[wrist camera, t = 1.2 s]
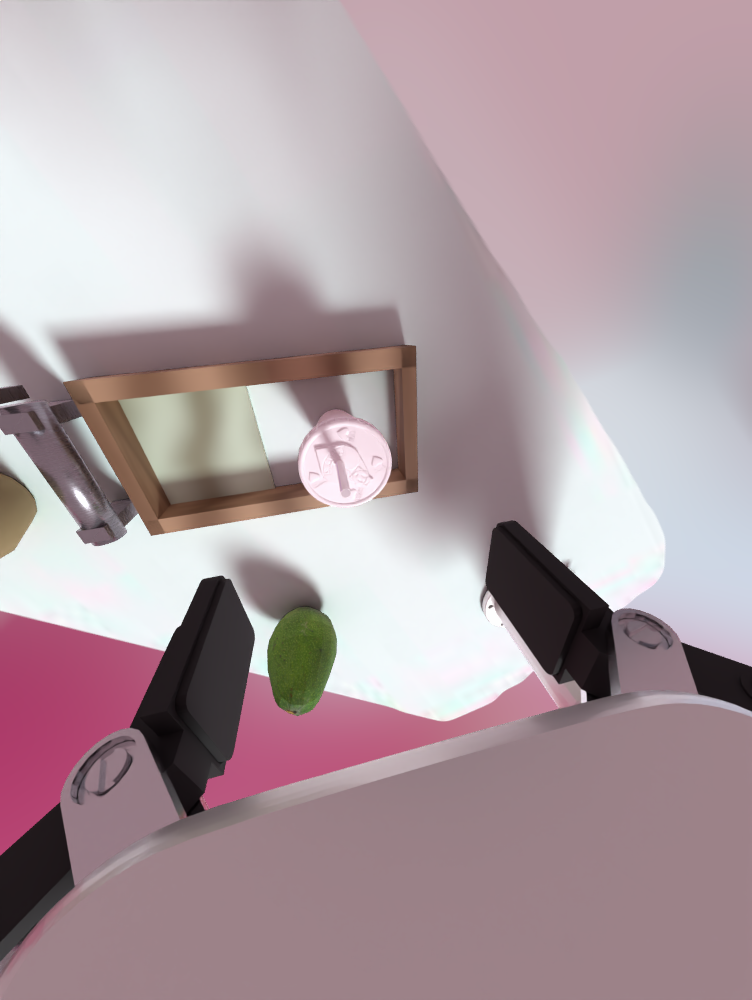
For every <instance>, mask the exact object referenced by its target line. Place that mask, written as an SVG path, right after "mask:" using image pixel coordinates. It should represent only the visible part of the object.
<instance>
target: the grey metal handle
mask: <svg viewBox="0 0 752 1000" xmlns="http://www.w3.org/2000/svg"><path fill="white" fill-rule="evenodd" d="M27 398H30V397H29V395H28V394H27V392H26V391H25V389H24V388H23V386H22V385H19V386H9V387H3V388H0V404H3V403H8V402H12V401H17V400H22V399H27ZM79 417H82V415H81V413H80V412H79V410H78V408H77V406H76V405H75V403H74V401H73V399H72V400H62V401H53V402H49V403H47V401H46V400H40V401H31V402H24V403H17V404H11V405H6V406H1V407H0V429H1V430H2V431H3V433H4V434H5V435H8V434H14V436H15V437H16V439H17V440H18V441H19V443H20V444H21V446H22V447H23V448H24V450H25V451H26V453H27V454H28V455H29V457H30V458H31V460H32V461H33V462H34V464H35V465H36V467H37V468H38V469H39V471H40V472H41V474H42V475H43V476H44V478H45V479H46V481H47V482H48V483H49V485H50V486H51V488H52V489H53V490H54V492H55V493H56V495H57V496H58V497H59V499H60V500H61V501H62V503H63V504H64V506H65V507H66V508H67V510H68V511H69V513H70V514H71V515H72V517H73V518H74V520H75V521H76V522H77V524H78V525H79V527H80V529H79V530H77V531H76V533H77V534H78V535H79V537H80V538H81V539H82V541H83V542H84V543H85V544H87V543H92V545H94V546H101V545H105V544H109V543H111V542H114V541H116V540H118V539H120V538H121V537H123V536H124V535H125V534H126V533H127V530H126V528H125V526H126V525H127V524H128V523H129V522H130V521H131V520H132V519H133V518H134V517H135V516H136V515H137V514H138V512H137V510H136V508H135V507H134V505H133V503H132V502H131V500H130V499H125V500H118V501H113V502H112V503H111V504H110V503H109V501H108V499H107V498H106V496H105V494H104V493H103V491H102V490H101V488H100V486H99V485H98V483H97V482H96V480H95V478H94V477H93V475H92V474H91V472H90V470H89V469H88V467H87V466H86V464H85V462H84V461H83V459H82V458H81V456H80V454H79V453H78V451H77V450H76V448H75V446H74V445H73V443H72V441H71V440H70V438H69V437H68V435H67V433H66V432H65V430H64V429H63V427H62V425H61V423H64V422H67V421H70V420H73V419H76V418H79Z"/></svg>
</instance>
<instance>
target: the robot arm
mask: <svg viewBox="0 0 752 1000" xmlns="http://www.w3.org/2000/svg"><path fill="white" fill-rule="evenodd" d="M485 582H486V586H487V589H488V591H487V592H486V594H485V597H484V599H483V604H482V608H483V612H484V614H485V616H486V618H487V619H488V621H490V622H491V623H492V624H494V625H496V626H499V627H505V628H506V630H507V631H508V633H509V634H510V636H511V637H512V639H513V640H514V642H515V643H516V645H517V646H518V648H519V649H520V651H521V652H522V654H523V655H524V657H525V658H526V660H527V661H528V663H529V664H530V666H531V667H532V669H533V670H534V672H535V673H536V675H537V676H538V678H539V679H540V681H541V682H542V684H543V685H544V687H545V689H546V690H547V691H548V693H549V695H550V696H551V698H552V699H553V701H554V702H555V703H556V705H557V707H558V708H559V709H557V710H553V711H550V712H546V713H542V714H539V715H535V716H531V717H528V718H524V719H520V720H517V721H513V722H509V723H506V724H502V725H499V726H495V727H491V728H488V729H484V730H480V731H477V732H473V733H469V734H466V735H462V736H459V737H455V738H452V739H448V740H444V741H441V742H438V743H434V744H430V745H426V746H423V747H419V748H416V749H412V750H409V751H405V752H402V753H398V754H395V755H391V756H387V757H384V758H380V759H377V760H373V761H370V762H366V763H363V764H359V765H356V766H352V767H349V768H345V769H342V770H338V771H335V772H331V773H328V774H325V775H321V776H318V777H314V778H310V779H307V780H303V781H300V782H296V783H293V784H290V785H286V786H282V787H279V788H276V789H272V790H269V791H266V792H262V793H259V794H256V795H253V796H250V797H246V798H243V799H240V800H236V801H233V802H230V803H227V804H223V805H220V806H217V807H214V808H211V809H209V808H208V806H207V804H206V802H205V800H204V798H203V796H202V795H203V794H204V793H205V788H206V784H207V780H208V779H209V778H213V777H217V776H221V775H223V774H224V769H225V764H226V761H227V760H230V759H231V758H232V755H233V752H234V747H235V742H236V737H237V731H238V726H239V721H240V715H241V710H242V705H243V699H244V693H245V689H246V683H247V678H248V673H249V667H250V662H251V657H252V651H253V646H254V640H255V634H254V630H253V627H252V625H251V623H250V621H249V619H248V617H247V614H246V612H245V610H244V608H243V606H242V603H241V601H240V599H239V597H238V595H237V592H236V590H235V588H234V586H233V584H232V582H231V580H230V579H225V578H224V577H223V576H216V577H211V578H206V579H203V580H202V581H201V582H200V584H199V587H198V589H197V591H196V593H195V595H194V598H193V600H192V602H191V604H190V606H189V609H188V611H187V613H186V615H185V618H184V620H183V622H182V624H181V626H179V627H178V628H177V629H176V630H175V632H174V634H173V636H172V638H171V640H170V642H169V644H168V646H167V649H166V651H165V653H164V655H163V657H162V659H161V661H160V664H159V666H158V668H157V670H156V672H155V675H154V677H153V679H152V681H151V683H150V685H149V687H148V689H147V692H146V694H145V696H144V698H143V700H142V702H141V705H140V707H139V709H138V711H137V713H136V715H135V717H134V720H133V722H132V724H131V726H130V728H127V729H121V730H119V731H116V732H114V733H112V734H110V735H108V736H107V737H105V738H104V739H102V740H101V741H99V742H98V743H96V744H95V745H94V746H93V747H92V748H91V749H90V750H89V751H88V752H86V753H85V754H84V756H83V757H82V758H81V759H80V761H79V762H78V763H77V764H76V765H75V767H74V768H73V770H72V771H71V773H70V774H69V776H68V778H67V779H66V782H65V784H64V787H63V790H62V792H61V802H60V803H59V804H58V805H56V807H54V808H53V809H52V810H51V811H50V812H49V813H48V814H46V815H45V816H44V817H43V818H42V819H41V820H40V821H39V822H37V823H36V824H35V825H34V826H33V827H32V828H31V829H30V830H29V831H27V832H26V833H25V834H24V835H23V836H22V837H21V838H20V839H18V840H17V841H16V842H15V843H14V844H13V845H12V846H11V847H10V848H8V849H7V850H6V851H5V852H4V853H3V854H2V855H1V856H0V1000H752V667H751V666H748V665H745V664H742V663H739V662H736V661H733V660H731V659H728V658H724V657H722V656H719V655H716V654H713V653H710V652H707V651H704V650H702V649H699V648H696V647H693V646H690V645H687V644H685V643H682V642H681V641H680V639H679V638H678V636H677V634H676V633H675V632H674V631H673V630H672V628H670V626H668V625H667V624H666V623H664V622H663V621H662V620H660V619H658V618H657V617H655V616H653V615H651V614H649V613H646V612H643V611H640V610H635V609H620V610H617V611H615V612H613V611H612V610H611V609H610V608H608V607H609V605H608V604H607V603H606V602H605V601H604V600H602V599H601V598H600V597H599V596H598V595H597V594H596V593H595V592H594V591H593V590H591V589H590V588H589V587H588V586H587V585H586V584H585V583H584V582H583V581H581V580H580V579H579V578H578V577H577V576H576V575H575V574H574V573H573V572H572V571H570V570H569V569H568V568H567V567H566V566H565V565H564V564H563V563H562V562H560V561H559V560H558V559H557V558H556V557H555V556H554V555H553V554H552V553H551V552H549V551H548V550H547V549H546V548H545V547H544V546H543V545H542V544H541V543H540V542H538V541H537V540H536V539H535V538H534V537H533V536H532V535H531V534H530V533H528V532H527V531H526V530H525V529H524V528H523V527H522V526H521V525H520V524H519V523H517V522H516V521H507V522H502V523H498V524H497V526H496V528H494V529H493V531H492V538H491V545H490V552H489V559H488V566H487V573H486V581H485Z"/></svg>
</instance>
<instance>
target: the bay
mask: <svg viewBox="0 0 752 1000" xmlns="http://www.w3.org/2000/svg"><path fill="white" fill-rule="evenodd" d="M391 369H393V373H394V393H395V413H396V433H397V454H398V468H397V469H391V473H390V476H389V479H388V481H387V483H386V485H385V486H384V488H383V489H382V490H381V491H380V493H379V494H378V495H376V496H375V497H374V498H373V499H376V498H382V497H388V496H394V495H400V494H406V493H412V492H418V460H417V386H416V346H412V345H401V346H391V347H382V348H372V349H362V350H352V351H343V352H333V353H323V354H313V355H304V356H294V357H284V358H274V359H265V360H255V361H245V362H236V363H226V364H216V365H206V366H197V367H187V368H177V369H167V370H158V371H148V372H138V373H128V374H119V375H109V376H99V377H90V378H85V379H79V380H73V381H68V382H63V384H64V386H65V387H66V389H67V391H68V392H69V394H70V396H71V398H72V399H73V401H74V403H75V405H76V406H77V408H78V410H79V412H80V413H81V415H82V417H83V418H84V420H85V422H86V424H87V425H88V427H89V429H90V431H91V432H92V434H93V436H94V437H95V439H96V441H97V443H98V444H99V446H100V448H101V450H102V451H103V453H104V455H105V457H106V458H107V460H108V462H109V463H110V465H111V467H112V469H113V470H114V472H115V474H116V476H117V477H118V479H119V481H120V482H121V484H122V486H123V488H124V489H125V491H126V493H127V495H128V496H129V498H130V500H131V502H132V503H133V505H134V507H135V508H136V510H137V512H138V514H139V515H140V517H141V519H142V521H143V522H144V524H145V526H146V527H147V529H148V531H149V533H150V534H151V536H152V535H158V534H164V533H170V532H176V531H183V530H189V529H195V528H201V527H207V526H213V525H219V524H225V523H231V522H237V521H243V520H249V519H255V518H261V517H267V516H273V515H279V514H285V513H291V512H297V511H304V510H310V509H316V508H322V507H328V506H330V505H327V504H324V503H322V502H320V501H319V500H317V499H316V498H314V497H313V496H312V495H311V494H310V493H309V492H308V491H307V489H306V488H305V487H304V485H303V483H299V484H293V485H286V486H280V487H275V485H274V481H273V478H272V474H271V471H270V467H269V464H268V460H267V457H266V453H265V450H264V446H263V443H262V439H261V436H260V432H259V429H258V425H257V422H256V418H255V415H254V411H253V408H252V405H251V401H250V398H249V394H248V391H247V387H246V386H249V385H258V384H267V383H275V382H284V381H293V380H302V379H311V378H320V377H329V376H338V375H347V374H356V373H364V372H373V371H382V370H391Z"/></svg>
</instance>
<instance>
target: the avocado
mask: <svg viewBox="0 0 752 1000" xmlns="http://www.w3.org/2000/svg"><path fill="white" fill-rule="evenodd" d="M336 650H337V638H336V634H335V630H334V628H333V625H332V623H331V620H330V619H329V618H328V616H327V615H325V614H324V613H322V612H320V611H319V610H317V609H314V608H311V607H298V608H296V609H294V610H292V611H291V612H289V613H287V614H286V615H285V616H284V617H283V618H282V619H281V621H280V622H279V623H278V625H277V626H276V628H275V630H274V632H273V634H272V636H271V638H270V640H269V645H268V650H267V658H268V673H269V678H270V682H271V686H272V690H273V695H274V698H275V701H276V703H277V705H278V706H279V707H280V708H282V709H283V710H285V711H286V712H288V713H290V714H293V715H296V716H299V715H302V714H304V713H307V712H309V711H311V710H312V709H313V708H314V707H315V706H316V704H317V703H318V702H319V699H320V698H321V696H322V693H323V691H324V688H325V686H326V683H327V681H328V678H329V675H330V672H331V669H332V666H333V663H334V660H335V657H336Z"/></svg>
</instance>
